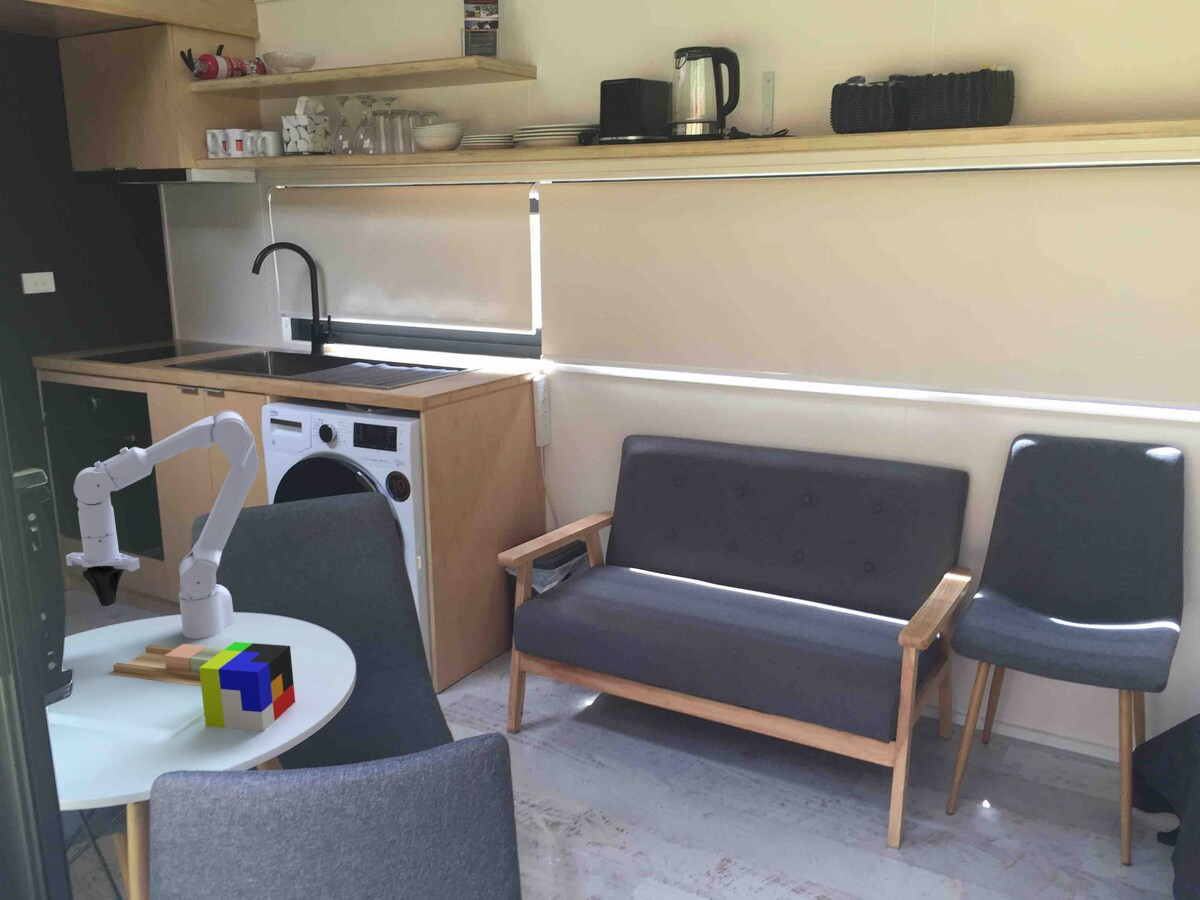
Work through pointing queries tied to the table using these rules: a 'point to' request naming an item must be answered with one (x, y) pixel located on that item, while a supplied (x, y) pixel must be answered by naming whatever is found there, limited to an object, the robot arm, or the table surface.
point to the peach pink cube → (182, 657)
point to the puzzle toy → (247, 686)
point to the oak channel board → (164, 666)
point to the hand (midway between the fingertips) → (108, 604)
